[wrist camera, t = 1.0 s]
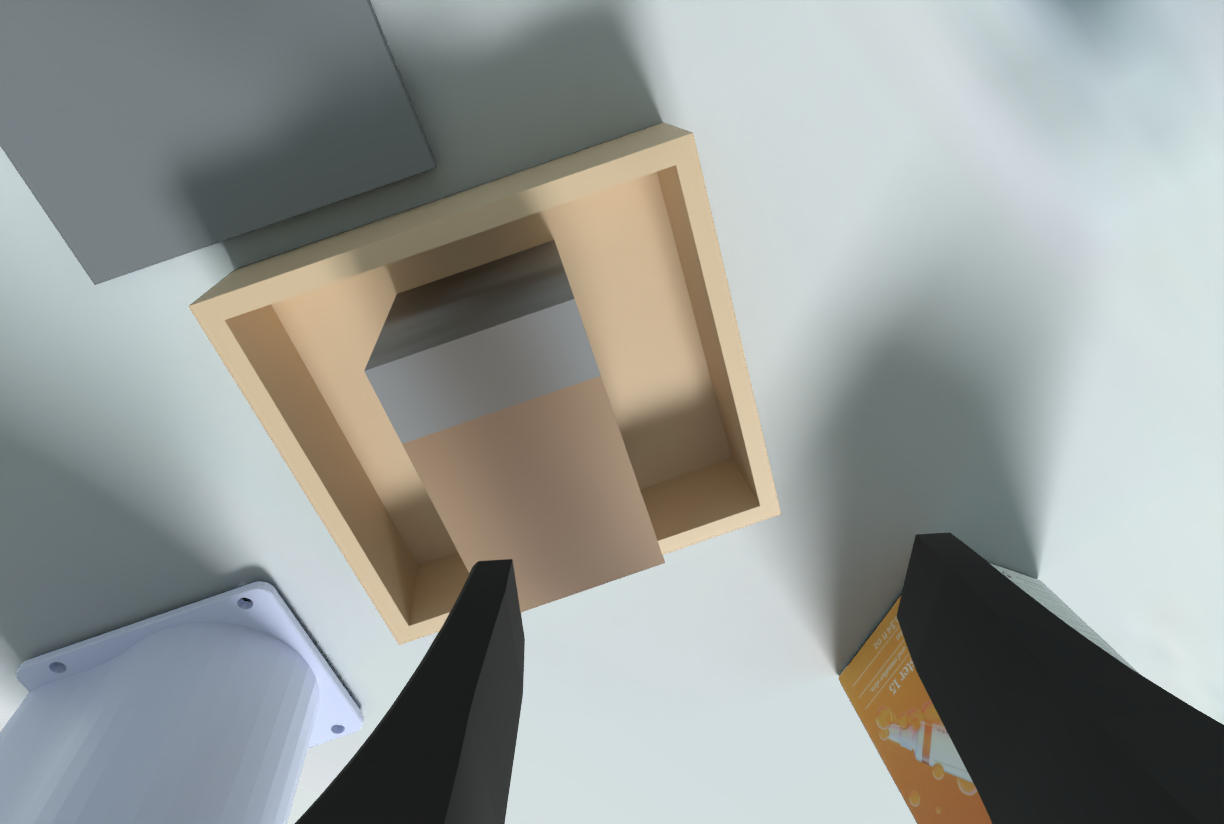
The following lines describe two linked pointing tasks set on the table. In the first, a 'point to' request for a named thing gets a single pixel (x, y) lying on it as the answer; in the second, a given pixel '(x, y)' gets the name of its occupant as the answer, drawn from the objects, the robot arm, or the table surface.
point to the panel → (197, 118)
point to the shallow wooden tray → (613, 320)
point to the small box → (926, 716)
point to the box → (514, 426)
